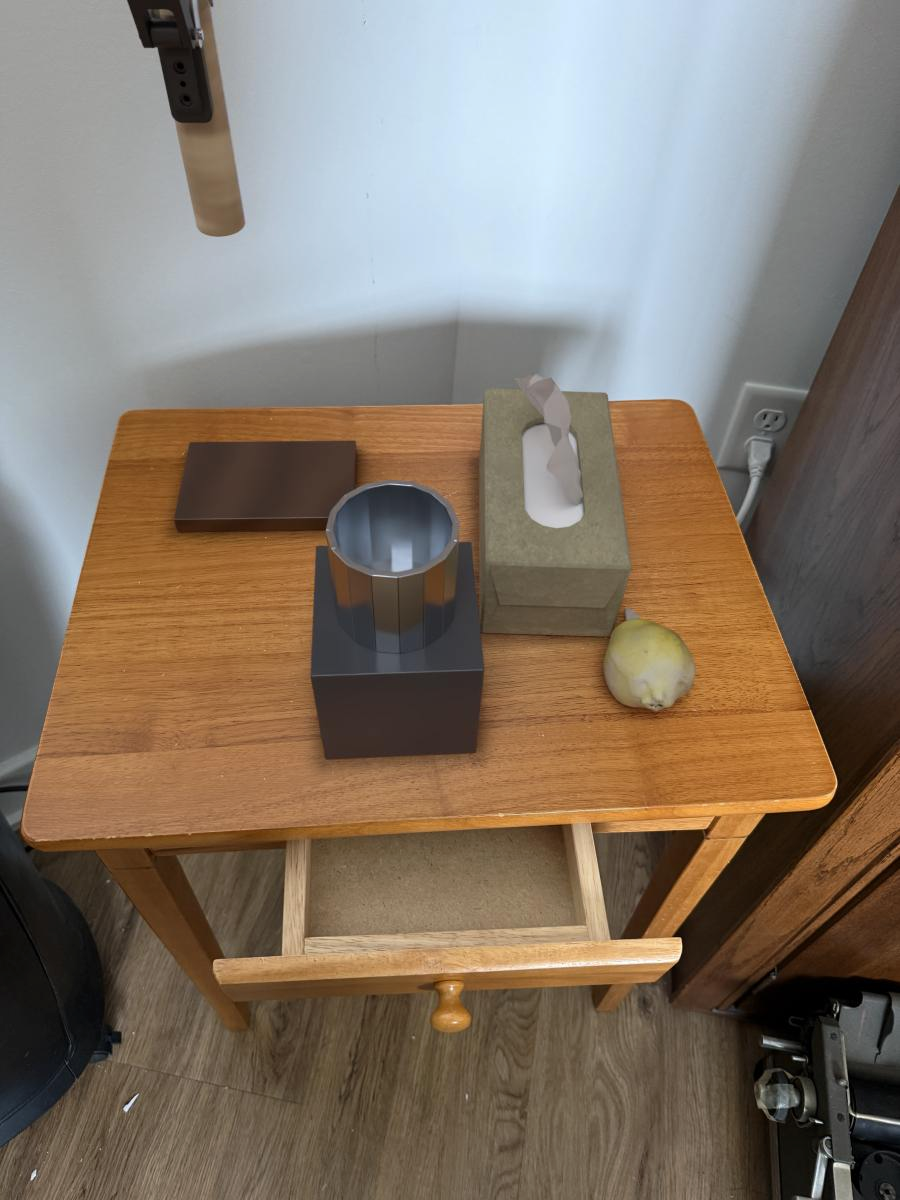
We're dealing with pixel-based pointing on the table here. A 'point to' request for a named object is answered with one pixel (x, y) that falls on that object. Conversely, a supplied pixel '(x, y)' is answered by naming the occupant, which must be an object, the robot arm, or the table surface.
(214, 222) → the stick
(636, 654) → the fruit
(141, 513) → the table surface
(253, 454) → the board
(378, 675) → the stand
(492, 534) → the tissue box
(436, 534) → the tin
